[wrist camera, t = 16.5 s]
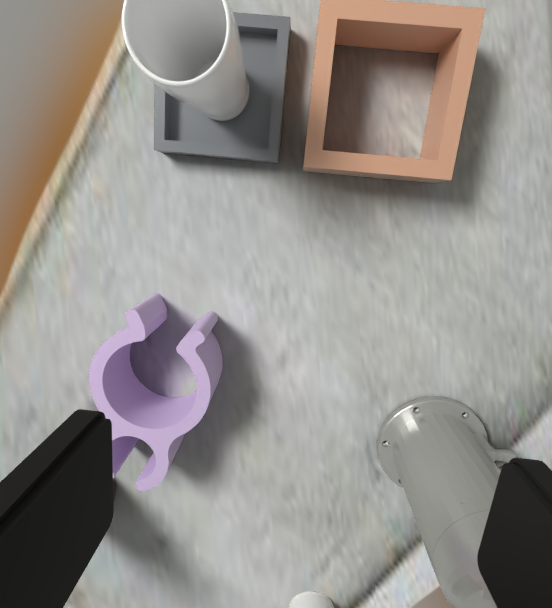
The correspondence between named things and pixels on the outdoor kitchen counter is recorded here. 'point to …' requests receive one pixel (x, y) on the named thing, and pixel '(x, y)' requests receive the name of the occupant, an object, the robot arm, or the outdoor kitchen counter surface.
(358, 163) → the terracotta holder
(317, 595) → the foam cup
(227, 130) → the charcoal tray
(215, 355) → the clip
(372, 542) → the outdoor kitchen counter surface
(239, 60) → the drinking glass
